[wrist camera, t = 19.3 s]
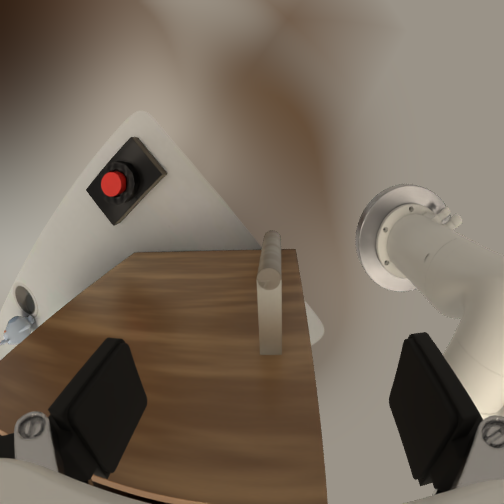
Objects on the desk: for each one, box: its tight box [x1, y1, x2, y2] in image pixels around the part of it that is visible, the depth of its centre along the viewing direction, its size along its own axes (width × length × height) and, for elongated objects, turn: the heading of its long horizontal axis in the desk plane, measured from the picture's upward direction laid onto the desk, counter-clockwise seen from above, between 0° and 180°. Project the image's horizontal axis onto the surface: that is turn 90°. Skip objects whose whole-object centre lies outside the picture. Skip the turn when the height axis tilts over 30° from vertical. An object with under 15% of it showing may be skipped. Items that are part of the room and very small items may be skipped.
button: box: [101, 171, 126, 197], centre depth 40 cm, size 4×4×2 cm
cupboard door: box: [0, 230, 328, 504], centre depth 28 cm, size 8×26×38 cm, turn 93°
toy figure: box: [0, 316, 34, 345], centre depth 51 cm, size 11×6×12 cm, turn 110°
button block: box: [86, 137, 167, 225], centre depth 42 cm, size 12×8×4 cm, turn 130°
